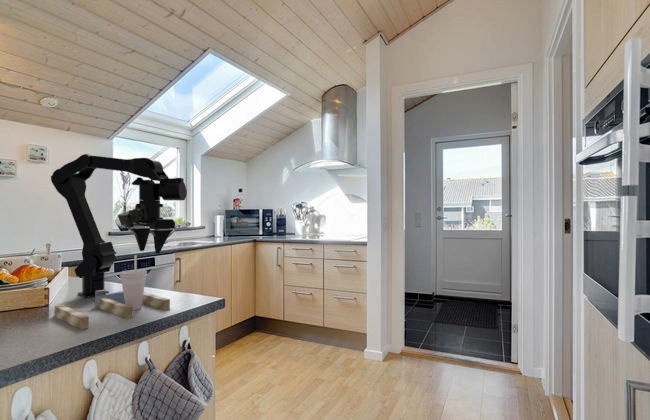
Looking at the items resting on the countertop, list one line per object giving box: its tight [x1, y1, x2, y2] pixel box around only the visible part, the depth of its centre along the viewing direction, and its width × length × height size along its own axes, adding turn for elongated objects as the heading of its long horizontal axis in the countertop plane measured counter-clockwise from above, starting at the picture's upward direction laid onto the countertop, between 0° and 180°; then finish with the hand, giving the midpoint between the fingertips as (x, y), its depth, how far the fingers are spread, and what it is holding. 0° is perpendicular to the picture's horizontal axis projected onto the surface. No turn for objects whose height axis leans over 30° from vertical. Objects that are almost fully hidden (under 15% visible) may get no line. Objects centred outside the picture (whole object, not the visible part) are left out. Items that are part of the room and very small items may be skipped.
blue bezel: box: [94, 289, 125, 309], centre depth 101 cm, size 2×11×4 cm, turn 143°
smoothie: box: [119, 254, 148, 311], centre depth 96 cm, size 6×6×14 cm
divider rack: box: [54, 291, 171, 330], centre depth 92 cm, size 16×20×2 cm
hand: (149, 252), depth 111 cm, fingers open, 9 cm apart
